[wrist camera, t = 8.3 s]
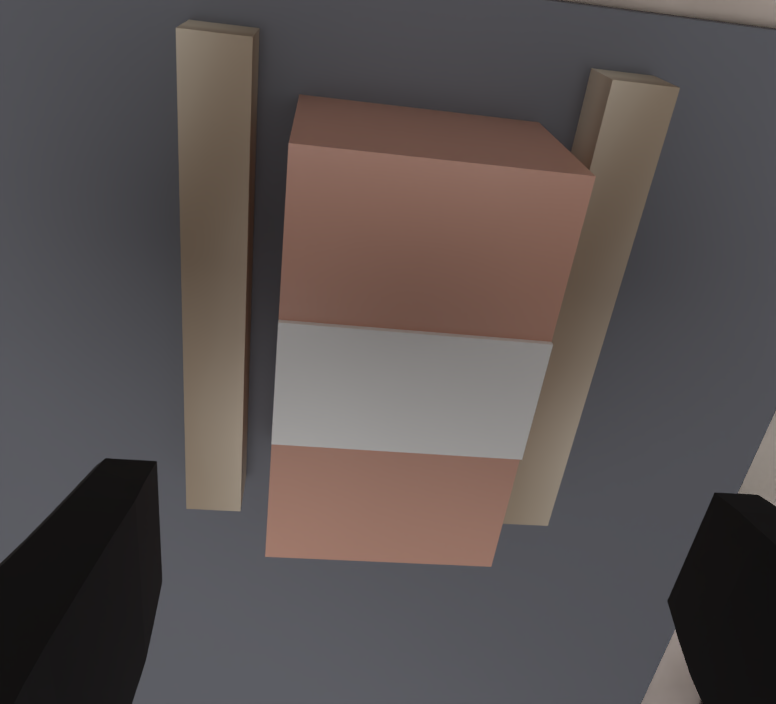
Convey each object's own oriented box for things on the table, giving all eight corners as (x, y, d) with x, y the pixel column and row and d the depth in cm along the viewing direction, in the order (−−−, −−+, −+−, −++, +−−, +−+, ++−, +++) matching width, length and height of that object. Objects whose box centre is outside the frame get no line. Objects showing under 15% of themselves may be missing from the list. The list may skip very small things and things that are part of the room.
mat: (918, 47, 14) (940, 52, 14) (619, 718, 24) (626, 735, 24) (-136, -91, 12) (-157, -91, 11) (24, 708, 22) (17, 726, 22)
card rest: (653, 75, 14) (680, 87, 12) (535, 492, 18) (547, 525, 17) (189, 18, 13) (176, 27, 12) (194, 474, 17) (186, 509, 16)
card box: (464, 458, 18) (492, 570, 15) (277, 446, 17) (265, 560, 14) (539, 121, 14) (598, 178, 11) (299, 94, 13) (288, 144, 10)
